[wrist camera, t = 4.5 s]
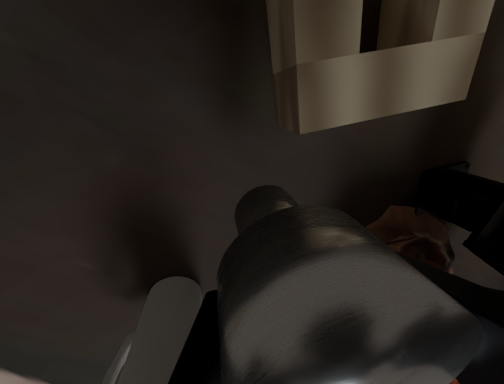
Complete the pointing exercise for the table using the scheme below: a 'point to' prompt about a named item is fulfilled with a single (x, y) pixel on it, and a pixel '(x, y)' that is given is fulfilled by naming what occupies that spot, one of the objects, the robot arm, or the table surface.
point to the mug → (158, 334)
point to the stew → (416, 238)
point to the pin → (330, 303)
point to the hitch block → (370, 58)
